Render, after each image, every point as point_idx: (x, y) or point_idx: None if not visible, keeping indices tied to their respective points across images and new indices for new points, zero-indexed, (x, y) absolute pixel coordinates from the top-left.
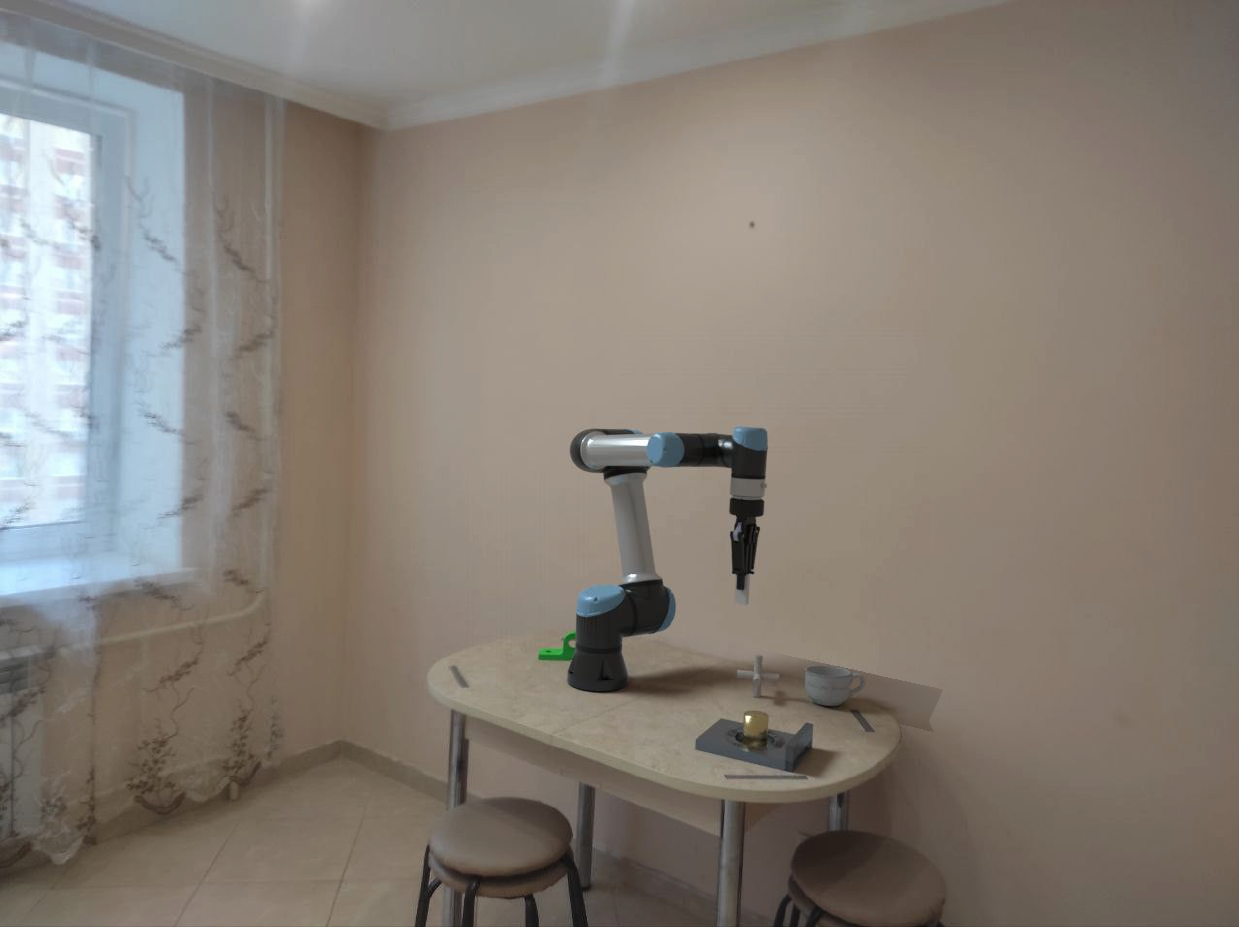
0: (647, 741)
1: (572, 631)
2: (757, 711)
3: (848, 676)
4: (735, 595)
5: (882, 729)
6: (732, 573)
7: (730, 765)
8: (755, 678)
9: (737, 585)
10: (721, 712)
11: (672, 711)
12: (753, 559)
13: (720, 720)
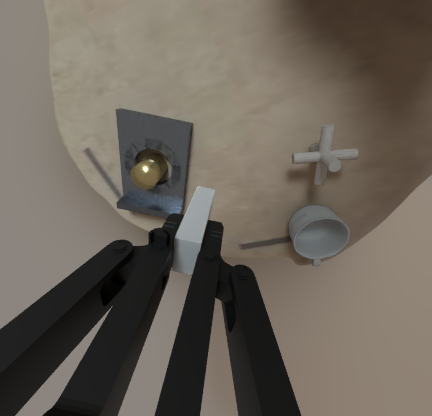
0: (106, 41)
1: None
2: (153, 177)
3: (303, 256)
4: (193, 197)
5: (248, 254)
6: (155, 230)
7: (108, 149)
8: (296, 157)
9: (165, 222)
10: (240, 114)
11: (219, 42)
12: (228, 335)
13: (182, 125)
